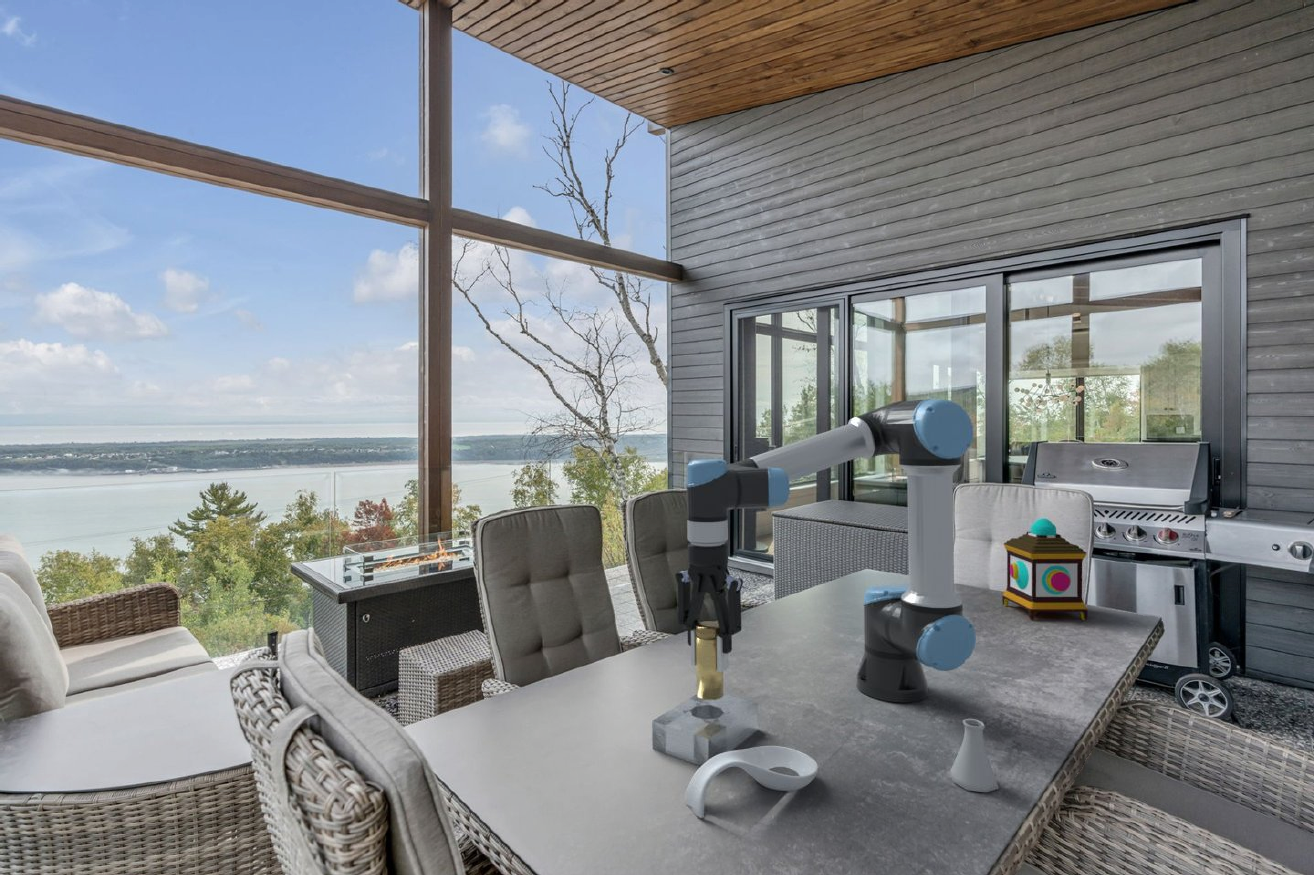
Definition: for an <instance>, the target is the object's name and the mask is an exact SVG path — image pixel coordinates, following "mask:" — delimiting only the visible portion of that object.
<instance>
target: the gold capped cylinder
mask: <svg viewBox="0 0 1314 875" xmlns="http://www.w3.org/2000/svg"><path fill="white" fill-rule="evenodd" d="M719 634H721V633H720V629H719V624H718V621H714V620H713V621H711V620H710V621H709V620H707V621H699V623H697V624H696V665H695V667H696V671H695V672H696V694H697V696H698V697H699V698H701V699H705V700H716V699H720V698H722V697H723V696H724V694H725V692H724V671H722V672H718V671H717V636H718V635H719Z"/></svg>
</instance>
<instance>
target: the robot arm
mask: <svg viewBox="0 0 1314 875" xmlns="http://www.w3.org/2000/svg"><path fill="white" fill-rule="evenodd" d="M973 439H974V426H973V423H972V420H971V416H970V415H969V413H968V412H967V411H966V409H963V407H962V406H961V405H960V404H958V403H956V402H955V401H953V400H949V399H944V398H943V399H942V398H933V397H932V398H928V399H927V398H925V399H917V400H900V401H896V402H892V403H891V402H890V403H888V404H886V405H883V406H880V407H877V408H875V409H873V410H870V411H868V412H865V413H861V414H860V415H857V416H854V417H852V418H850V419H849V420H848V423H847V424H845V425H842V426H839V427H837V428H834V429H831V430H828V431H824V432H822V433H818V434H816V435H813V436H810V437H807V438H803V439H800V440H799V441H796V442H793V443H789V444H786V445H783V446H781V447H777V448H775V449H771V450H768V451H766V452H763V453H760V454H757V455H754V456H751V457H749V458H746V459H743V460H739V461H736V462H734V463H733V462H732V463H728V462H727V460H725V459H721V458H719V459H718V458H717V459H715V458H711V459H710V458H709V459H708V458H707V459H706V458H705V459H704V458H702V459H693V460H690V461H689V463H688V464H687V467H686V483H685V487H686V504H687V509H686V510H687V520H686V521H687V523H686V524H687V530H686V531H687V541H688V542H689V543H688V544H687V561H688V563H689V565H688V567H687V570H682V571H679V572H676V573H675V580H676V583H677V608H678V609H677V622H678V624H679V625H682V626H685V628H686V629H687V644H688V646H690V654H691V655H690V656H691V657H690V660H691V662H690V664H691V666H694V667H696V624H697V623H700V617H701V615H702V614H701V613H702V609H703V604H704V599H705V596H706V594H709V596H710V599H711V600H712V603H713V607H714V611H715V615H716V619H717V622H718V624H719V629H720V633H721V634H719V635H718V636H717V671H718V672H722V671H723V672H724V671H725V670H728V669H729V654H730V653H732V649H733V647H732V646H733V642H732V641H733V640H732V638H733V637H732V636H734V635H735V634H738V633H739V632H741V631H742V605H741V604H742V603H741V601H742V600H741V596H742V595H741V591H742V588H743V585H744V580H743V578H735V577H733V576H731V574H730V570H729V569H728V565H729V544H728V543H727V541H728V540H729V530H728V528H729V527H728V526H729V524H728V523H729V521H728V520H729V516H728V511H729V510H736V509H738V510H739V509H741V510H742V509H761V508H762V509H765V508H766V509H767V508H768V509H771V508H776V507H777V508H778V507H783V506H784V505H786V503H787V502H788V500H789V497H790V494H791V492H790V490H791V489H790V488H791V486H790V485H791V484H790V482H792V481H796V480H798V479H801V478H803V477H807V476H809V475H810V476H811V475H812V474H815V473H817V472H820V471H824V470H826V469H829V468H833V467H834V466H838V465H840V464H844V463H846V462H848V461H849V462H850V461H853V460H854V459H856V458H861V459H864V460H869V459H872V458H874V457H878V456H883V455H898V463H899V465H898V466H899V467H900V468H901V469H902V470H903V471H904V472H905V473H906V475H907V476H906V478H907V480H906V481H907V482H906V484H907V545H908V546H907V547H908V548H907V551H908V554H907V555H908V556H907V557H908V586H906V585H881V586H872V587H870V588H867V590H866V591H865V593H864V598H863V606H864V608H863V612H864V614H863V615H864V617H863V618H864V619H863V620H864V622H863V623H864V628H863V629H864V632H863V633H864V635H863V636H864V639H863V640H864V649H863V650H864V652H863V655H862V658H861V661H860V664H859V667H858V670H857V672H856V687H857V690H858V691H859V692H861V693H863V694H864V695H866V696H868V697H872V698H874V699H878V700H880V701H887V702H893V703H914V702H918V701H922V700H924V699H926V698H927V696H928V693H929V692H928V691H929V688H928V687H929V686H928V680H927V678H926V677H927V676H926V675H925V672H924V668H923V666H925V667H929V668H932V669H934V670H937V671H941V672H947V671H953V670H956V669H958V668H959V667H961V666H962V665H963V666H964V664H965V663H966V661H967V660H968V659H969V658H970V657H971V656H972V654H973V652H974V650H975V646H976V643H977V642H976V641H977V635H976V633H977V632H976V629H975V627H974V625H973V624H971V622H970V621H969V619H968V618H966V617H964V615H963V614H964V612H963V608H964V607H963V600H962V598H961V596H959V595H958V594H957V593H956V592H955V562H954V560H955V559H954V558H955V557H954V556H955V555H954V552H955V551H954V548H955V547H954V491H953V490H954V487H953V486H954V485H953V484H954V483H953V482H954V481H953V479H954V477H953V475H954V473H955V472H956V471H957V470H958V469H959V468H960V467H961V466H962V465H961V464H962V463H961V462H962V460H961V458H962V457H961V456H963V455H964V454H965V453H967V452H968V450H969V447H971V445H972V443H973V441H974V440H973ZM691 582H692V584H693V585H692V588H691ZM726 584H727V586H726V587H725V585H726ZM726 588H727V589H728V591H727V592H728V593H727V594H726ZM691 589H692V590H691ZM726 595H727V597H728V598H726ZM727 600H728V601H727ZM727 602H728V604H727Z"/></svg>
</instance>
